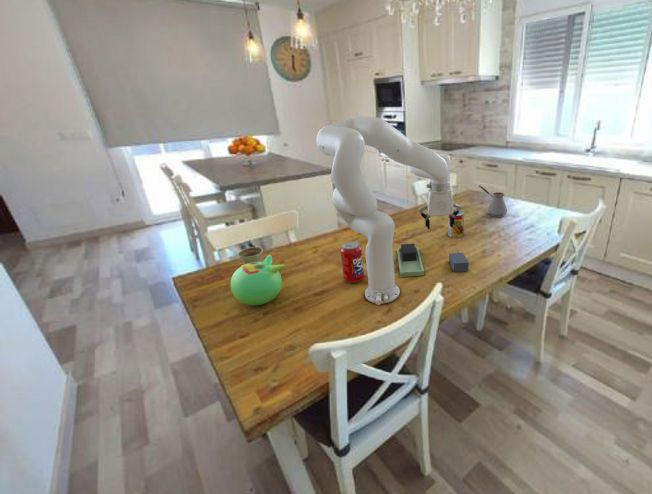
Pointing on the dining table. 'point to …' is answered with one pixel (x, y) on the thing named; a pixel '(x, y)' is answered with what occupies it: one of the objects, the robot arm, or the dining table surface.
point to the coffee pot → (496, 204)
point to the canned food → (456, 225)
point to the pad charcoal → (408, 252)
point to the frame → (410, 265)
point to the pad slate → (458, 262)
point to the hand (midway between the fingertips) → (439, 227)
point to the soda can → (352, 261)
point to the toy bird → (257, 282)
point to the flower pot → (251, 255)
